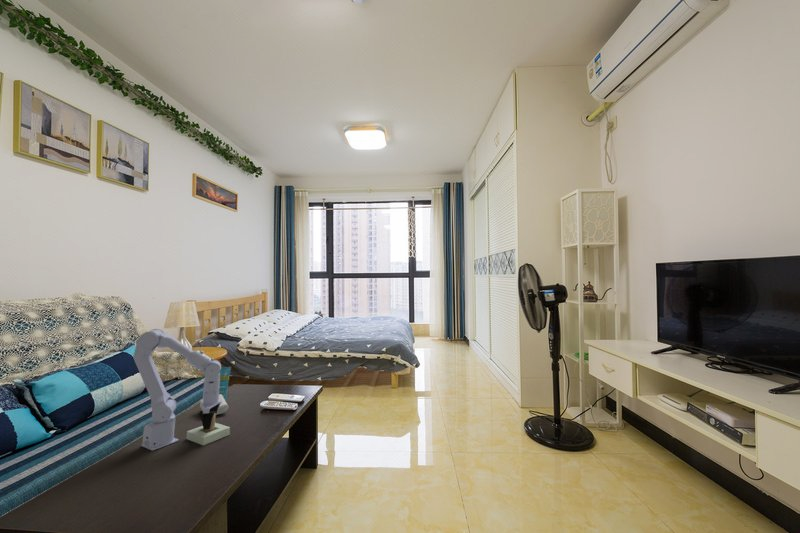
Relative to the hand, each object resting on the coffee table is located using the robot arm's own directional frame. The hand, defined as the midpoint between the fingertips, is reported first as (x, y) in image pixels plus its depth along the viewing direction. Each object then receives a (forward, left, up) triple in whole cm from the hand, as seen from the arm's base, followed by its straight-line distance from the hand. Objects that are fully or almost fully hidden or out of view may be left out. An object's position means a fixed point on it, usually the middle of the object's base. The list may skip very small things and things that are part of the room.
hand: (209, 425), depth 134 cm
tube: (+24, +28, -4) cm, 37 cm away
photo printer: (+15, +17, -2) cm, 23 cm away
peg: (0, 0, -5) cm, 5 cm away
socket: (0, 0, -4) cm, 4 cm away
